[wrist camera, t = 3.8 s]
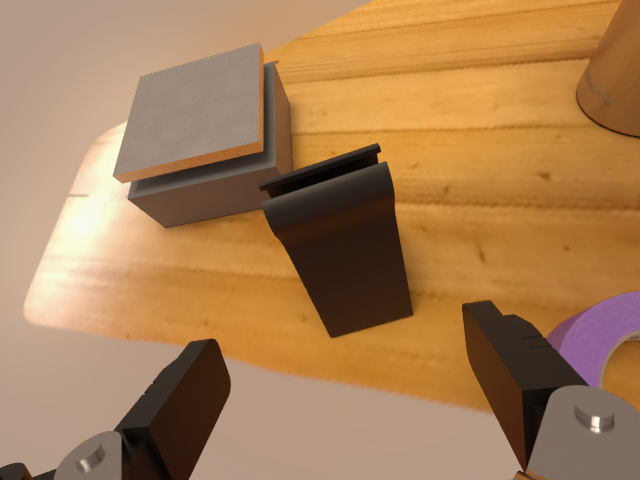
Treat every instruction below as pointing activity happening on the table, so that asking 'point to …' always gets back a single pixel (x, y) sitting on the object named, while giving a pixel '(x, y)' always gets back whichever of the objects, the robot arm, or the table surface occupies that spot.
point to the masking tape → (597, 335)
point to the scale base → (223, 172)
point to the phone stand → (343, 238)
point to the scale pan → (194, 115)
